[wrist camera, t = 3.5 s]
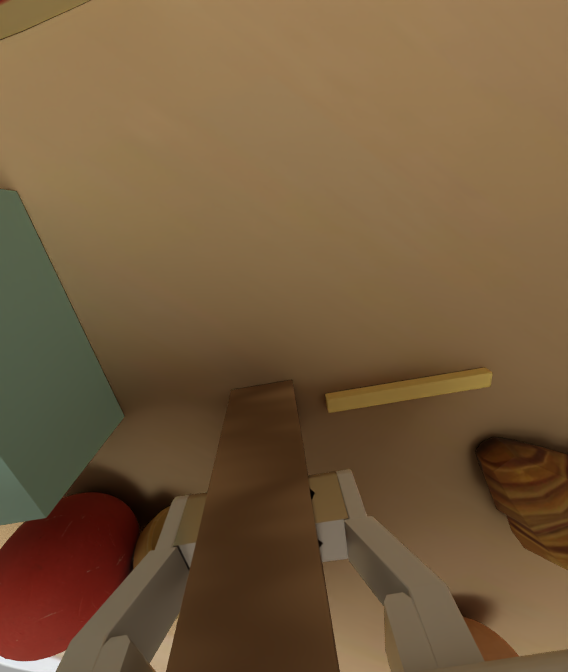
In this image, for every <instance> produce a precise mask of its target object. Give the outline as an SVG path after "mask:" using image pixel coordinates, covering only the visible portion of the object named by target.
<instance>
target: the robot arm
mask: <svg viewBox="0 0 568 672" xmlns="http://www.w3.org/2000/svg"><path fill="white" fill-rule="evenodd" d="M308 482H309V488H310V494H311V501H312V507H313V514H314V520H315V526H316V532H317V537H318V542H319V549H320V554H321V560H322V562H326V561H334V560H342V559H349V561H350V563H351V564H352V565H353V567H354V568H355V569H356V570H357V572H358V573H359V574H360V576H361V577H362V578H363V580H364V581H365V582H366V584H367V585H368V586H369V588H370V589H371V590H372V592H373V593H374V594H375V595H376V597H377V598H378V599H379V601H380V602H381V603H382V605H383V606H384V621H385V651H386V654H387V658H388V662H389V666H390V669H391V672H568V649H565V650H559V651H552V652H545V653H538V654H532V655H525V656H518V657H512V658H505V659H498V660H492V661H484V659H483V657H482V655H481V653H480V651H479V649H478V647H477V645H476V643H475V641H474V639H473V637H472V635H471V633H470V631H469V629H468V627H467V625H466V623H465V621H464V619H463V617H462V615H461V613H460V611H459V609H458V607H457V605H456V603H455V601H454V599H453V596H452V594H451V592H450V590H449V588H448V586H447V584H446V583H444V582H443V581H442V580H441V579H440V578H439V577H438V576H437V575H436V574H435V573H434V572H433V571H431V570H430V569H429V568H428V567H427V566H426V565H425V564H424V563H423V562H422V561H421V560H420V559H418V558H417V557H416V556H415V555H414V554H413V553H412V552H411V551H410V550H409V549H408V548H407V547H405V546H404V545H403V544H402V543H401V542H400V541H399V540H398V539H397V538H396V537H395V536H394V535H392V534H391V533H390V532H389V531H388V530H387V529H386V528H385V527H384V526H383V525H382V524H381V523H379V522H378V521H377V520H376V519H375V518H374V517H373V516H367V514H366V511H365V508H364V505H363V502H362V499H361V496H360V493H359V490H358V487H357V484H356V482H355V479H354V476H353V473H352V471H351V469H346V470H340V471H336V472H335V471H332V472H326V473H321V474H315V475H309V476H308ZM207 493H208V492H206V493H198V494H190V495H184V496H177V497H175V498H174V500H173V501H172V503H171V506H170V509H169V512H168V514H167V517H166V520H165V523H164V525H163V528H162V531H161V534H160V536H159V539H158V542H157V545H156V547H155V550H152V551H149V553H148V554H147V555H146V556H145V557H144V558H143V559H142V560H141V562H140V563H139V564H138V565H137V566H136V567H135V568H134V570H133V571H132V572H131V573H130V574H129V575H128V576H127V578H126V579H125V580H124V581H123V582H122V583H121V584H120V586H119V587H118V588H117V589H116V590H115V591H114V592H113V594H112V595H111V596H110V597H109V598H108V599H107V600H106V601H105V603H104V604H103V605H102V606H101V607H100V608H99V609H98V611H97V612H96V613H95V614H94V615H93V616H92V617H91V619H90V620H89V621H88V622H87V623H86V624H85V625H84V627H83V628H82V629H81V630H80V631H79V632H78V633H77V635H76V636H75V637H74V638H73V639H72V640H71V641H70V643H69V645H68V648H67V650H66V652H65V654H64V656H63V658H62V660H61V662H60V664H59V666H58V668H57V670H56V672H156V671H155V670H154V669H153V668H152V666H151V665H150V662H151V660H152V658H153V657H154V655H155V653H156V652H157V650H158V648H159V647H160V645H161V643H162V641H163V640H164V638H165V636H166V635H167V633H168V631H169V629H170V628H171V626H172V624H173V623H174V621H175V619H176V617H177V616H178V614H179V612H180V609H181V605H182V601H183V596H184V592H185V588H186V583H187V579H188V575H189V570H190V566H191V562H192V557H193V553H194V549H195V544H196V540H197V536H198V531H199V527H200V523H201V519H202V514H203V510H204V506H205V501H206V497H207Z"/></svg>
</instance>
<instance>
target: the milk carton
mask: <svg viewBox="0 0 568 672" xmlns="http://www.w3.org/2000/svg"><path fill="white" fill-rule="evenodd" d="M88 1H90V0H0V39H3V38H5V37H8V36H10V35H13V34H16V33H18V32H21V31H23V30H26V29H28V28H30V27H32V26H34V25H37V24H39V23H41V22H43V21H45V20H48V19H50V18H52V17H54V16H57V15H59V14H61V13H63V12H65V11H68V10H70V9H72V8H74V7H76V6H79V5H81V4H83V3H85V2H88Z"/></svg>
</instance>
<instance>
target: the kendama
mask: <svg viewBox="0 0 568 672" xmlns="http://www.w3.org/2000/svg"><path fill="white" fill-rule="evenodd" d="M169 509H170V506H169V507H167V508H165V509H164V510H162V511H161V512H160V513H159V514H158V515H157V516H156V517H155V518H154V519H153V520H151V521H150V522H149V523H148V524H147V526H146V527H145V528H144V529H143V531H142V532H141V534H140V530H139V525H138V522H137V519H136V517H135V515H134V514H133V512H132V510H131V509H130V508H129V507H128V506H127V505H126V504H125V503H124V502H123V501H121V500H120V499H118V498H116V497H114V496H111V495H108V494H104V493H96V492H89V493H79V494H75V495H71V496H68V497H65V498H62V499H60V501H59V502H58V503H57V505H56V506H55V507H54V509H53V510H52V511H51V512H50V514H49V515H48V516H47V518H43V519H36V520H30V521H25V522H24V523H23V524H22V525H21V526H19V527H18V529H17V530H16V531H15V533H14V534H13V535H12V536H11V537H10V538H9V539H8V540H7V542H6V543H5V544H4V545H3V546H2V548H1V549H0V656H2V657H4V658H5V659H11V660H16V661H35V660H39V659H44V658H47V657H51V656H53V655H56V654H58V653H61V652H63V651H65V650H67V648H68V645H69V643H70V641H71V640H72V639H73V638H74V637H75V636H76V635H77V633H78V632H79V631H80V630H81V629H82V628H83V627H84V625H85V624H86V623H87V622H88V621H89V620H90V619H91V617H92V616H93V615H94V614H95V613H96V612H97V611H98V609H99V608H100V607H101V606H102V605H103V604H104V603H105V601H106V600H107V599H108V598H109V597H110V596H111V595H112V594H113V592H114V591H115V590H116V589H117V588H118V587H119V586H120V584H121V583H122V582H123V581H124V580H125V579H126V578H127V576H128V575H129V574H130V573H131V572H132V571H133V570H134V568H135V567H136V566H137V565H138V564H139V563H140V562H141V560H142V559H143V558H144V557H145V556H146V555H147V554H148V553H149V551H152V550H155V547H156V545H157V542H158V539H159V536H160V534H161V531H162V528H163V525H164V523H165V520H166V517H167V514H168V512H169ZM179 613H180V612H179ZM177 618H179V614H178V616H177V617H176V619H177Z"/></svg>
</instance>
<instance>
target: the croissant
mask: <svg viewBox="0 0 568 672" xmlns="http://www.w3.org/2000/svg"><path fill="white" fill-rule="evenodd" d="M475 452H476V455H477V459H478V462H479V465H480V467H481V470H482V472H483V475H484V477H485V480H486V482H487V485H488V487H489V490H490V493H491V495H492V498H493V500H494V503H495V506H496V508H497V509H498V510H499V511H501V512H503V513H504V514H506V516H507V519H508V522H509V525H510V528H511V530H512V532H513V533H514V534H515V536H516V537H517V539H518V540H519V541H520V543H521V544H522V546H523V547H524V548H525V549H527V550H529V551H531V552H533V553H535V554H537V555H539V556H541V557H543V558H545V559H547V560H549V561H551V562H553V563H554V564H556V565H558V566H560V567H562V568H564V569H566V570H568V454H564V453H561V452H557V451H554V450H551V449H547V448H544V447H540V446H536V445H532V444H528V443H524V442H520V441H516V440H512V439H505V438H498V437H493V438H490V439H488V440H486V441H484V442H482V443H481V444H480V446H479V447H478V448H477V450H476V451H475Z"/></svg>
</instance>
